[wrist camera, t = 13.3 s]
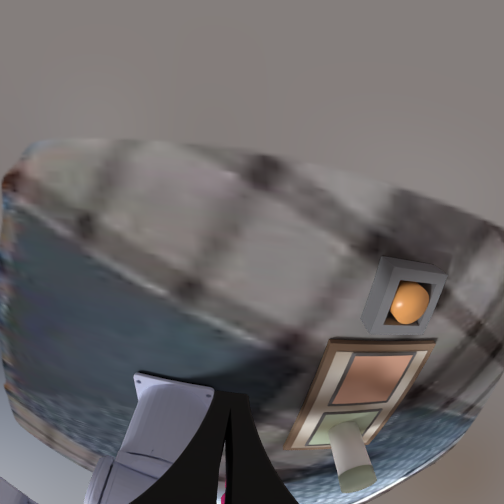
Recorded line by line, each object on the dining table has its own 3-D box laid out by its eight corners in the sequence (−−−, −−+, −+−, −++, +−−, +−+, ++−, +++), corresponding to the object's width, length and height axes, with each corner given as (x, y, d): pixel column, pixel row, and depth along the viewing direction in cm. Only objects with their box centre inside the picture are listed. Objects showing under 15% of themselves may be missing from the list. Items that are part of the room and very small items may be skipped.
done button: (410, 313, 20) (419, 324, 18) (380, 311, 20) (389, 323, 18) (423, 279, 19) (434, 289, 17) (393, 275, 19) (403, 285, 17)
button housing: (411, 321, 21) (422, 334, 19) (360, 318, 21) (369, 334, 19) (433, 264, 19) (447, 274, 17) (381, 255, 19) (394, 266, 17)
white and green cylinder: (348, 438, 26) (364, 490, 18) (322, 438, 26) (334, 494, 18) (363, 420, 25) (383, 475, 17) (336, 420, 25) (353, 480, 17)
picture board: (367, 441, 28) (368, 445, 27) (283, 446, 27) (283, 451, 27) (433, 340, 22) (436, 344, 21) (329, 339, 22) (331, 344, 21)
